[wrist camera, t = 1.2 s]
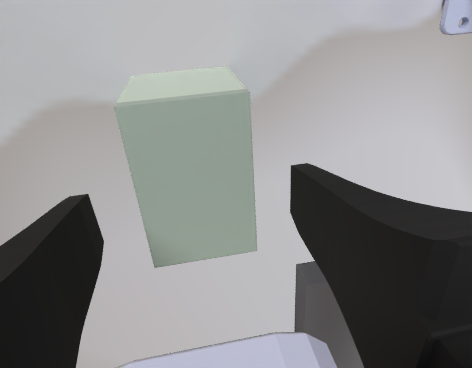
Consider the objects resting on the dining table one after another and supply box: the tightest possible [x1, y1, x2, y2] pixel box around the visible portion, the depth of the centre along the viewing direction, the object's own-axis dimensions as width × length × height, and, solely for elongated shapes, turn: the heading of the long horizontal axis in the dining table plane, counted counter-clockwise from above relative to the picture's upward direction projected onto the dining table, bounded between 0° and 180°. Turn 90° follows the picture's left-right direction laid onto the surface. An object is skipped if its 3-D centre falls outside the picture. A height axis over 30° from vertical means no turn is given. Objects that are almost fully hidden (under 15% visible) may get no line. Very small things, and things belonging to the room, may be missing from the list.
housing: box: [114, 66, 257, 268], centre depth 15 cm, size 4×7×6 cm, turn 4°
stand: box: [295, 261, 364, 368], centre depth 26 cm, size 12×12×2 cm
